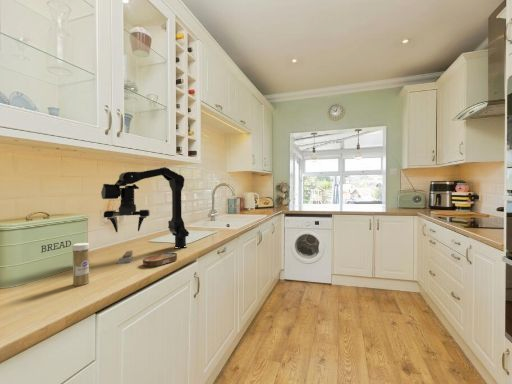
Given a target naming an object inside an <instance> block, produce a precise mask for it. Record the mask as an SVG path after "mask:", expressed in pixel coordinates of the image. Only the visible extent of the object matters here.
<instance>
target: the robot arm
mask: <svg viewBox="0 0 512 384" xmlns="http://www.w3.org/2000/svg"><path fill="white" fill-rule="evenodd" d="M160 176H162V177H163V178H164V179H165V180H166V181H168V183H169V184H168V185H169V188H170V190H171V198H172V199H171V205H172V209H171V210H172V214H171V215H172V216H171V219H170V220H168V221H167V223H168V228H167V229H169V232H170V233H171V235H172V236H174V245H175V247H184V246H186V245H187V239H186V238H187V237H189V235H190V232H189V231H188V230H187V229H186V227H185V222H184V220H183V217H182V190H183V189H184V188H183V187H184V185H185V177H184V176H183V175H182V174H179V173H177V172H176V171H173V170H171V169H170V168H168V167H166V166H164V167H160V168H154V169H148V170H144V171H143V170H142V171H126V172H121V173H120V174H119V177H118V179H117V181H116V182H115V183H114V184H109V183H103V184H102V188H101V194H100V195H101V198H102V200H117V199H118V198H119V197H120V204H119V206H118V211H116V209H115V210H105V211H104V212H103V218H105V219H106V218H107V219H106V220H110V222H111V224H112V226H113V228H114V230H115V233H118V232H119V230H118V229H119V227H118V216H121V217H123V216H128V217H129V216H139V217H138V223H137V224H138V225H137V232H139V231H140V229H141V227H142V223H143V221H144V219H147V217H150V215H151V214H150V212H151V211H150V209H139V211H137V205H136V204H135V190H139V189H140V187H139V186H137V184H136V183H138V182H140V181H141V180H146V179H150V178H153V177H154V178H155V177H160ZM134 183H135V184H134Z"/></svg>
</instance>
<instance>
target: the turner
mask: <svg viewBox="0 0 512 384" xmlns="http://www.w3.org/2000/svg"><path fill="white" fill-rule="evenodd" d="M132 255H133V250H126V252H124V253H123V256H122V257H119V258H118V260H117V261H116V264H117V265H119V264H129V263H131V261H132V260H133V256H132Z"/></svg>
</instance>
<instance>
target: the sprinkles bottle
mask: <svg viewBox="0 0 512 384" xmlns="http://www.w3.org/2000/svg"><path fill="white" fill-rule="evenodd" d="M89 249H90V244H89V243H88V242H80V243H79V242H78V243H74V244H72V275H73V277H72V279H73V282H72V285H73V286H75V287H79V286H84V285H87V284H88V283H90V280H89V279H90V275H89V274H90V263H89V261H90V260H89V259H90V258H89Z"/></svg>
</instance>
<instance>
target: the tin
mask: <svg viewBox="0 0 512 384" xmlns="http://www.w3.org/2000/svg"><path fill="white" fill-rule="evenodd" d="M175 260H176V261H177V260H178V253H176V252H163V253H158V254H155V255H150V256H146V257H144V258H142V265H143V266H144V267H147V268H154V267H155V266H156V267H159V265H160V266H164V265H167V264H170V263H169V262H171V263H173V261H174V262H176V261H175ZM166 263H167V264H166ZM163 264H164V265H163Z"/></svg>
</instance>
